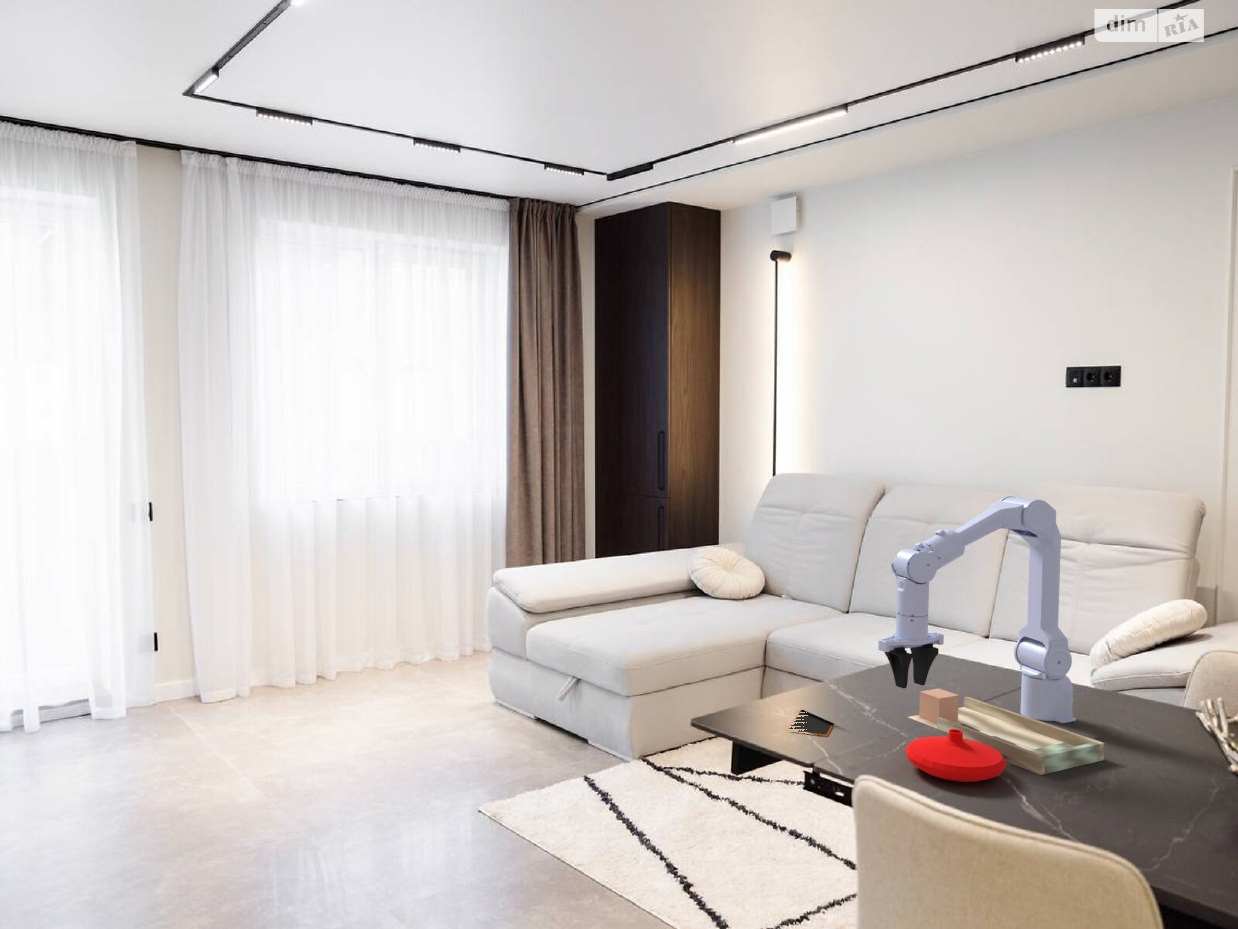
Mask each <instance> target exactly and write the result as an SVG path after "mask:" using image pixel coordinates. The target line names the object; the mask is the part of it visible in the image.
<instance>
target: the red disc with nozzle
mask: <svg viewBox="0 0 1238 929" xmlns="http://www.w3.org/2000/svg"><path fill="white" fill-rule="evenodd" d="M947 734H948V735H947V736H944V735H943V736H942V735H940V736H939V735H937V736H933V735H932V736H924V737H923V736H922V737H920V738H916V739H914V740H912V741H911V742H909V743H908V745H907V746H905V749H904V750H905V754H906V757H907V760H908V761H909V763H910V764H912V765H913V766H914V767H915V768H917V769H918V770H919V769H920V770H921V771H923V772H925V773H927V774H928V775H930V776H933V777H936V778H938V779H942V780H947V781H952V782H961V783H965V782H966V783H975V782H982V781H984V780H989V779H993V778H996V777H998V776H1001V774H1003V772H1004V770H1005V769H1006V766H1007V762H1006V760H1005V759H1004V757H1005V756H1004V755H1002V754H1001V753H1000V752H999V751H997V750H996V749H995V748H993V747H990V746H988V745H986V744H983V743H980V742H977V741H973V740H968V739H963V731H961V730H958V729H950V730H949V733H947Z"/></svg>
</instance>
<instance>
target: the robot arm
mask: <svg viewBox="0 0 1238 929" xmlns="http://www.w3.org/2000/svg"><path fill="white" fill-rule="evenodd" d="M1000 529H1003V530H1004V529H1006V530H1009V531H1010V532H1013V533H1015V534H1017V535H1018V536H1020V537H1021V538H1022V539H1023V540H1024V541H1025V542H1026V543H1027V544H1028V545H1029V551H1028V552H1029V554H1028V555H1029V560H1028V584H1027V585H1028V587H1027V589H1028V591H1027V593H1028V594H1027V618H1026V621H1027V622H1026V624H1025V625H1024V626H1023V627H1021V628H1020V629H1019V631H1018V637H1017V638H1018V639H1017V642H1016V643H1015V645H1014V650H1013V656H1014V660H1015V661H1016V663H1018V665H1020V666H1019V671H1021V685H1020V686H1021V688H1020V689H1021V691H1020V715H1023V716H1026V717H1029V718H1032V719H1035V720H1038V721H1046V722H1047V721H1048V722H1049V721H1051V722H1052V721H1055V722H1057V723H1061V724H1067V723H1072V722H1076V721H1077V718H1075V717H1074V716H1073V704H1074V703H1073V702H1074V686H1073V683H1072V680H1071V679H1070V678H1069V677H1068V676H1067V674H1068V673H1069V672H1070V670H1071V668H1072V665H1073V664H1072V663H1073V660H1072V654H1071V652H1070V649H1069V648H1070V647H1069V639H1068V638H1067V636H1066V635H1065V634H1064V633H1063V631H1062V630H1061V629H1060V627H1059V610H1060V609H1059V607H1060V606H1059V605H1060V579H1061V578H1060V577H1061V553H1062V552H1061V549H1062V536H1061V532H1060V530H1059V526H1058V525H1057V510H1056V509H1055V508H1054V507H1052V506H1051V504H1049V503H1048V502H1047V501H1045V500H1042V499H1033V498H1032V499H1030V498H1023V497H1016V496H1012V495H1007V496H1004V497H1002V498H1001V499H999V500H997V501H993V502H992V503H991V505H990V506H989V507H988V508H987V509H985V510H984V511H983V512H981V513H980V514H978V515H977V516H976V515H975V517H973V518H972V519H971V520H969V521H967V522H966V523H965V524H963V525H961V526H960V527H958V528H957V529H956V530H952V529H950V528H949V529H948V528H946V529H941V528H939V529H937V530H936V531H934V534H935V535H933V536H931V537H929V538H928V539H926V540H925V541H922V542H920V541H918V542H916V543H915V544H914V547H913V548H912V549H911V548H905V549H904V548H903V549H901V550H900V551H898V552H897V554H896V555H895V557H894V560H893V561H892V562H890V567H891V570H892V573H893V574H894V576H895V578H896V581H895V583H896V615H895V616H896V619H895V632H894V633H893V635H892V636H888V637H886V638H882V639H878V651H881V652H884V655H885V657H886V658H887V660H888V663H889V665H890V668H891V670H892V674H893V678H894V682H895V683H894V684H895V686H896V687H897V688H900V689H907V686H908V679H909V669H910V666H911V662H912V665H913V666H912V667H913V671H912V673H913V674H912V675H913V682H914V684H917V685H919V686H922V687H923V686H925V685H926V683H927V678H928V675H929V672H930V669H931V667H932V665H933V663H934V661H935V659H936V657H937V656H938V655H939V647H936V646H934V645H938V646H941V645H944V640H945V638H944V637H945V635H944V634H943V633H938V632H928V631H929V604H930V603H929V601H930V598H929V596H930V582H932V580H933V579H934V578H935V575H936V573H938V572H937V571H938V570H940V569H941V568H943V567H946V565H948V564H950V563H952V562H953V561H955V560H957V559H958V558H960V557H962V556H963V555H964V553H965V550H966V548H965V547H967V546H968V545H971V544H972V543H975V542H976V541H978V540H980V539H982V538H984V537H985V536H988V535H990V534H992V533H994V532H996V531H998V530H1000ZM907 649H910V652H908V651H907Z"/></svg>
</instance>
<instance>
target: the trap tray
mask: <svg viewBox="0 0 1238 929" xmlns="http://www.w3.org/2000/svg"><path fill="white" fill-rule="evenodd" d="M907 718H908V719H912V720H914V721H916V722H918V723H922V724H924V725H926V726H929V727H931V728H934V729H936V730H940V731H942V732H945V733H947V734H948V733H949V730H950V729H958V730H961V731H963V739H968V740H973V741H977V742H980V743H983V744H986V745H988V746H990V747H993V748H995V749H996V750H997V751H999V752H1000V753H1001V755H1002V756H1003V757H1004V759H1005V760H1006V763H1009V764H1011V765H1014V766H1017V767H1019V768H1022V769H1025V770H1026V771H1028V772H1031V773H1034V774H1036V775H1039V776H1043V775H1046V774H1052V773H1055V772H1059V771H1064V770H1069V769H1071V768H1075V767H1081V766H1084V765H1088V764H1094V763H1097V762H1101V761H1104V760H1105V742H1102V741H1099V740H1096V739H1093V738H1091V737H1088V736H1085V735H1082V734H1078V733H1076V732H1072V731H1070V730H1067V729H1065V728H1061V727H1058V726H1055V725H1053V724H1049V723H1046V722H1043V721H1042V720H1037V719H1032V718H1029V717H1026V716H1024V715H1022V714H1021V713H1017V712H1014V711H1011V710H1008V709H1005V708H1003V707H999V706H996V705H994V704H991V703H988V702H985V701H982V700H978V699H975V698H973V697H970V696H964V697H963V706H962V707H958V721H956V722H953V721H950V720H947V719H945V718H942V717H940V718H937V724H936V723H933V722H931V721H928V720H925V719H923V718H920V717H919V714H917V715H911V716H907Z"/></svg>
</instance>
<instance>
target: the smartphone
mask: <svg viewBox="0 0 1238 929" xmlns="http://www.w3.org/2000/svg"><path fill="white" fill-rule="evenodd" d="M799 712H805V713H799ZM799 712H798V714H797V715H808V716H804V717H802V716H801V717H797V716H796V717H795V718H794V720H795V719H801V720H796V721H794V720H793V721H794V722H805V723H804V724H803V723H797V724H796V723H795V724H794V725H791V724H790V726H801V727H795V728H794V729H805V730H804V731H802V730H801V731H800V730H799V731H798V732H808V733H811V734H814V735H817V736H816V737H821V736H825V737H824V738H828V737H829V735H830V734H831V731H832V729H833V728H834V725H835V722H832V721H829V720H827V719H826V718H823V717H821V716H819V715H816V714H814V713H811V712H809V711H807V710H805V709H803V710H801V709H800V711H799ZM806 712H807V713H806ZM802 719H804V720H802ZM806 722H807V723H806ZM803 726H804V727H803ZM832 727H833V728H832ZM788 729H793V728H792V727H791V728H789V727H788ZM806 729H807V730H806ZM814 735H813V736H814ZM827 736H828V737H827Z"/></svg>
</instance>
